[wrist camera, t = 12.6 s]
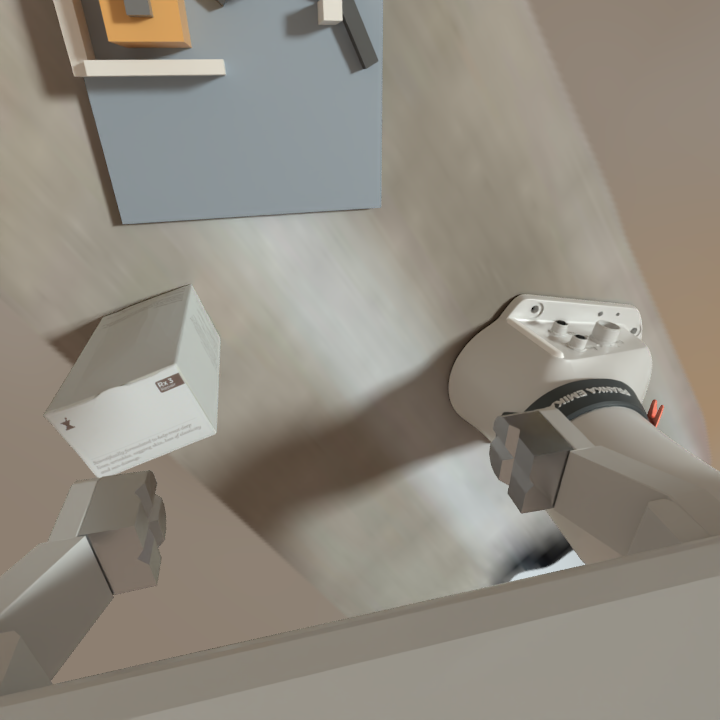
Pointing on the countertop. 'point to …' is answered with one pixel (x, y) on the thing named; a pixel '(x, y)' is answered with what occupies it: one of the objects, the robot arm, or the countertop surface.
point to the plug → (146, 23)
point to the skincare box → (141, 384)
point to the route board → (238, 108)
